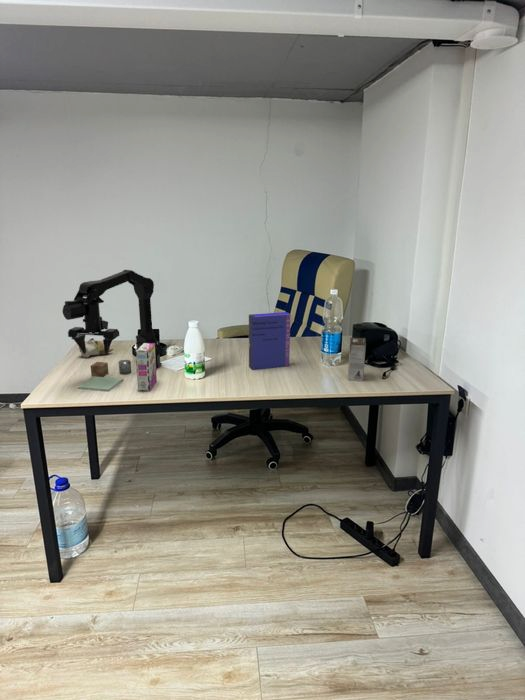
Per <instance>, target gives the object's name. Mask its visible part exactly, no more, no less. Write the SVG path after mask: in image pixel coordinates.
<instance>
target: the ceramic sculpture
mask: <svg viewBox="0 0 525 700" xmlns="http://www.w3.org/2000/svg"><path fill="white" fill-rule="evenodd" d="M85 346H86V353H85V354H84V353H83V352H82V350H81V349H80V347H79V346H78V350H79V352H80V354H81V356H82V358H84V359H85V358H86V359H87V358H89V357H91V356H100V355H106V354H105V350H104V344H103V342H102V341H101V340H99V339H95V338H90V339H89V340H87V342H85ZM112 351H114V348H109V352H108V354H109V353H111V352H112Z"/></svg>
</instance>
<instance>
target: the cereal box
mask: <svg viewBox="0 0 525 700" xmlns="http://www.w3.org/2000/svg"><path fill="white" fill-rule="evenodd" d="M290 345H291V314H290V312H287V311H284V312H270V313H269V312H267V313H253V314H251V313H250V314H248V368H249V369H250V370H251V371H257V370H268V369H278V368H288V367H290V354H291V353H290V349H291V348H290Z"/></svg>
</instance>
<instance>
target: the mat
mask: <svg viewBox="0 0 525 700" xmlns="http://www.w3.org/2000/svg"><path fill="white" fill-rule="evenodd" d="M123 381H124V378H120V377H119V378H117V377H109V376H107V377H106V376H104V377H96V376H94V377H92V376H91V378H90V379H88V380H86V381H85V382H83V383H82V384H80V385H79V386H77V389H78V390H88V391H101V392H102V391H103V392H110V391H111V390H113V389H114V388H116V386H117V387H118V386H119V384H121V383H122V382H123Z"/></svg>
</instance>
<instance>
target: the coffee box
mask: <svg viewBox="0 0 525 700" xmlns="http://www.w3.org/2000/svg"><path fill="white" fill-rule="evenodd" d="M349 340H350V341H349V351H348V353H349V355H348V369H347V370H348V371H347V372H348V373H347V374H348V375H347V380H348V381H353V382H354V381H356V382H357V381H358V382H364V375H365V374H364V372H365V364H366V363H365V359H366V348H367V347H366V346H367V343H366V342H367V340H366V337H350V339H349Z"/></svg>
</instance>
